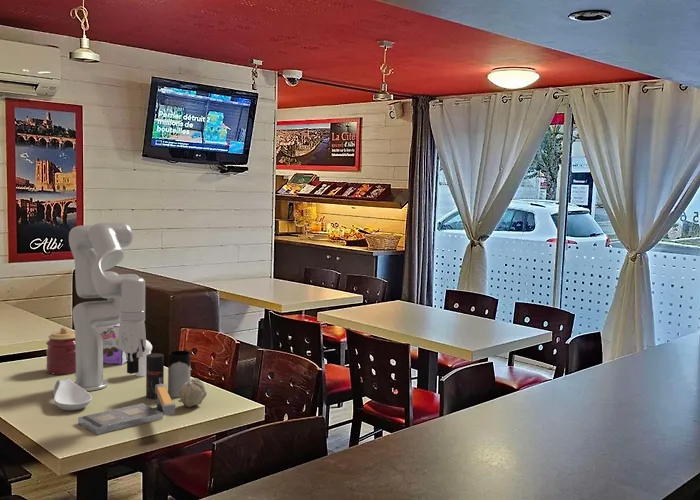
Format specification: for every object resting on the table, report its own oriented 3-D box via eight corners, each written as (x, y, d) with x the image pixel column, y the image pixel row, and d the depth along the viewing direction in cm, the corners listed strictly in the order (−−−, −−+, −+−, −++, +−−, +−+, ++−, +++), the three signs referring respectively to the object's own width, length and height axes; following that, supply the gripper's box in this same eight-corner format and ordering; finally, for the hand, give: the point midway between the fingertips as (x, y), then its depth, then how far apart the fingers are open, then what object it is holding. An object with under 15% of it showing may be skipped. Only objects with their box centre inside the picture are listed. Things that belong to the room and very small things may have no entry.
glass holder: (166, 397, 242) (166, 356, 240) (168, 386, 256) (168, 346, 254) (191, 396, 244) (191, 355, 242) (192, 385, 257) (192, 346, 256)
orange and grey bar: (163, 415, 204) (163, 406, 204) (154, 392, 227) (154, 383, 226) (175, 414, 206) (175, 405, 205) (165, 391, 228) (165, 383, 228)
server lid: (78, 423, 213) (78, 416, 213) (142, 408, 229) (142, 402, 228) (97, 434, 204) (97, 427, 204) (162, 418, 220) (162, 411, 219)
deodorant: (158, 399, 239) (158, 357, 238) (143, 398, 240) (143, 356, 239) (166, 394, 245) (166, 354, 243) (151, 393, 246) (151, 352, 245)
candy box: (91, 362, 285) (91, 324, 284) (98, 359, 291) (98, 321, 290) (122, 365, 283) (122, 326, 282) (129, 361, 289) (129, 323, 287)
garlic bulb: (206, 402, 238) (206, 374, 237) (206, 410, 230) (207, 381, 229) (178, 403, 236) (178, 375, 235) (177, 411, 228) (178, 381, 227)
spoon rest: (96, 410, 227) (96, 389, 226) (59, 416, 219) (59, 395, 219) (76, 392, 245) (75, 373, 245) (41, 397, 238) (40, 377, 238)
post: (147, 411, 226) (147, 393, 226) (163, 407, 231) (164, 389, 230) (157, 416, 222) (157, 397, 222) (173, 412, 226) (173, 394, 226)
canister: (73, 375, 266) (73, 331, 264) (40, 374, 266) (39, 330, 264) (86, 367, 279) (86, 324, 277) (55, 366, 279) (54, 323, 277)
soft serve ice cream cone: (156, 374, 270) (156, 335, 269) (140, 379, 263) (140, 338, 262) (142, 371, 275) (142, 332, 273) (125, 375, 268) (125, 335, 266)
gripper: (110, 314, 219) (110, 369, 220) (133, 321, 208) (133, 379, 210) (132, 311, 224) (132, 366, 226) (155, 318, 214) (155, 375, 215)
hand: (132, 372), depth 218 cm, fingers closed
